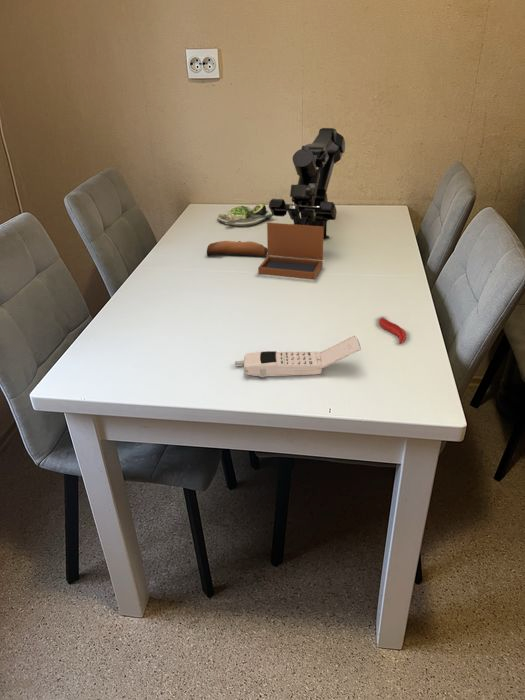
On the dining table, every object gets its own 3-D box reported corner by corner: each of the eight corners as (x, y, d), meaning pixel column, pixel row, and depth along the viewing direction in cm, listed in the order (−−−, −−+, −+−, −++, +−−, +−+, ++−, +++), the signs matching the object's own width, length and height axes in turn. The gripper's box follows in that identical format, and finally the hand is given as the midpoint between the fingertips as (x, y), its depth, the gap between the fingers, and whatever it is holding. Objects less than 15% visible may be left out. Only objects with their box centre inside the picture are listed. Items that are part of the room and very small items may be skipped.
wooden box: (314, 281, 150) (315, 273, 149) (258, 276, 155) (258, 267, 154) (322, 269, 158) (322, 260, 156) (268, 264, 162) (267, 255, 161)
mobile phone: (362, 349, 108) (232, 353, 109) (360, 375, 111) (234, 379, 111) (357, 334, 114) (233, 338, 114) (355, 359, 117) (235, 363, 117)
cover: (323, 227, 151) (323, 226, 152) (267, 222, 156) (267, 222, 156) (322, 260, 156) (322, 259, 156) (267, 255, 160) (268, 254, 161)
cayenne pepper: (409, 343, 121) (410, 335, 120) (388, 344, 121) (389, 336, 120) (396, 317, 132) (397, 310, 131) (376, 318, 132) (377, 311, 131)
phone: (312, 277, 151) (312, 274, 151) (262, 272, 155) (262, 269, 155) (318, 267, 157) (318, 264, 156) (270, 263, 161) (270, 260, 160)
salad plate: (244, 233, 185) (243, 219, 183) (205, 223, 195) (204, 210, 193) (279, 217, 198) (279, 204, 196) (241, 209, 208) (240, 196, 205)
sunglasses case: (270, 247, 172) (268, 233, 166) (267, 266, 168) (265, 252, 163) (213, 246, 175) (209, 231, 169) (209, 264, 171) (205, 250, 166)
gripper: (269, 169, 156) (258, 220, 153) (335, 172, 151) (325, 225, 147) (278, 190, 166) (268, 238, 163) (340, 194, 161) (331, 244, 158)
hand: (297, 236), depth 158 cm, fingers closed
